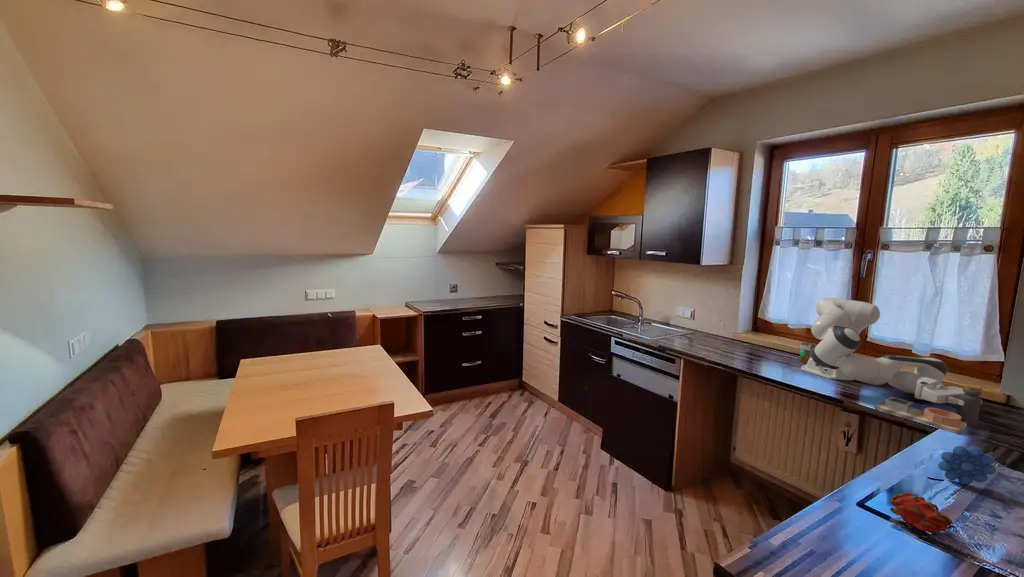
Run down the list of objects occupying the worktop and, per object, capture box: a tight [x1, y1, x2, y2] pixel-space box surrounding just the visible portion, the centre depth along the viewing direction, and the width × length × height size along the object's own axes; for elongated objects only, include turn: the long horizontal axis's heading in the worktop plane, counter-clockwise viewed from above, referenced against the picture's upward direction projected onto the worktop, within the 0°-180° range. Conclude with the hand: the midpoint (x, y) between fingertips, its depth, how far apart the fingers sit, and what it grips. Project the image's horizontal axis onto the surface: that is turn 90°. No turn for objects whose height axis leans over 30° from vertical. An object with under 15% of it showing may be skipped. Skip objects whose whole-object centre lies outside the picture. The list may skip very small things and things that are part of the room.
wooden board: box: [874, 399, 968, 435], centre depth 176 cm, size 25×12×2 cm, turn 35°
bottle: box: [956, 383, 983, 427], centre depth 172 cm, size 6×6×15 cm
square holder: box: [885, 396, 914, 413], centre depth 181 cm, size 7×7×3 cm
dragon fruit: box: [889, 491, 955, 534], centre depth 109 cm, size 8×8×12 cm
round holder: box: [923, 407, 962, 426], centre depth 170 cm, size 10×10×3 cm
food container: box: [799, 342, 816, 365], centre depth 246 cm, size 12×6×10 cm, turn 135°
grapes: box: [937, 445, 997, 486], centre depth 129 cm, size 12×7×12 cm, turn 54°
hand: (972, 402), depth 171 cm, fingers open, 7 cm apart
